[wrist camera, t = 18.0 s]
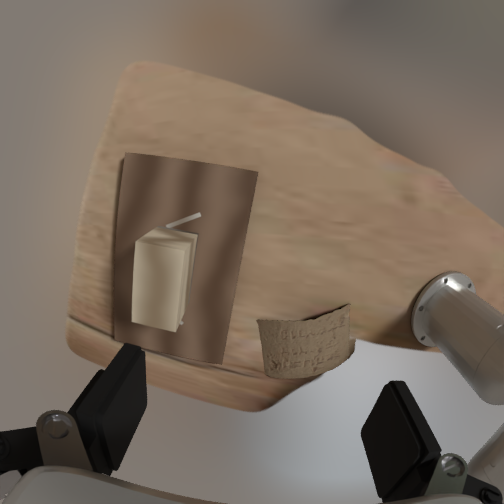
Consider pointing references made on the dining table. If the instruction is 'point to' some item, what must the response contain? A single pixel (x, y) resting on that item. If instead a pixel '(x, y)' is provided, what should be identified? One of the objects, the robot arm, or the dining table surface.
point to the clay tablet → (306, 345)
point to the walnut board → (207, 252)
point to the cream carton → (163, 277)
